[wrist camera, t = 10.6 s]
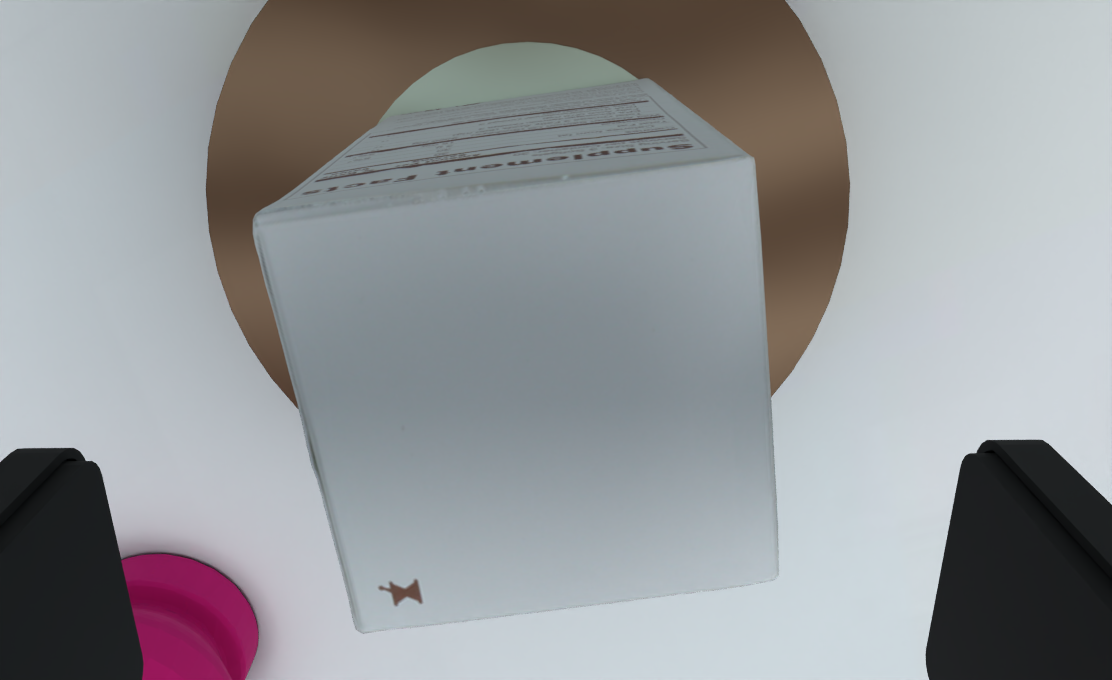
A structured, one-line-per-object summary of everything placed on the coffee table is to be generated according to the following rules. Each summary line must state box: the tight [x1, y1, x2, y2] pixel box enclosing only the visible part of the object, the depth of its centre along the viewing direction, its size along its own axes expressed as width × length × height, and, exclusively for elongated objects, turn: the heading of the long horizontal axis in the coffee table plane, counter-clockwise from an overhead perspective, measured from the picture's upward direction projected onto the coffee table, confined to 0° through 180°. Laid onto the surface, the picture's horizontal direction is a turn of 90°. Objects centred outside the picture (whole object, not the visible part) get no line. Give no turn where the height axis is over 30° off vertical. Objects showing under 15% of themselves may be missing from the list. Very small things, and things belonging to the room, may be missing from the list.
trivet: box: [206, 0, 850, 409], centre depth 26 cm, size 18×18×2 cm
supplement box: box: [253, 78, 779, 634], centre depth 20 cm, size 7×7×13 cm
